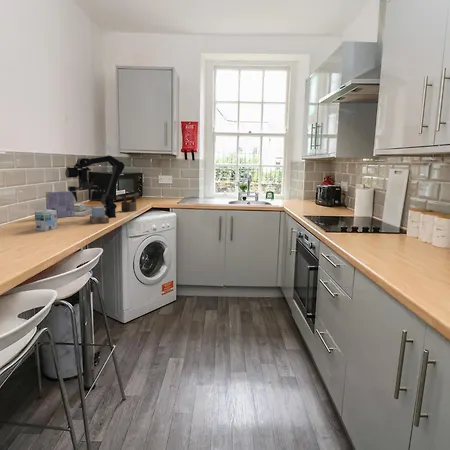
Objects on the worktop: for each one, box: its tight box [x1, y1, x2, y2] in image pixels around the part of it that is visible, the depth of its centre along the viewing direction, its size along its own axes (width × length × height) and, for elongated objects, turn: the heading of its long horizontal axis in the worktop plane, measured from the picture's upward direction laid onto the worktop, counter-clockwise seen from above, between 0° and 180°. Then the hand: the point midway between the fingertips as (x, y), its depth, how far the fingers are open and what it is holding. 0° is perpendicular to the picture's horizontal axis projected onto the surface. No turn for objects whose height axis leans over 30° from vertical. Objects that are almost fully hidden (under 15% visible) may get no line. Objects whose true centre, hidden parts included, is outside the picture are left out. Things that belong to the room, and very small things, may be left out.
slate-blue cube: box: [91, 206, 105, 218], centre depth 233 cm, size 6×6×6 cm
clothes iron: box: [120, 192, 140, 213], centre depth 286 cm, size 8×16×13 cm, turn 154°
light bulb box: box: [34, 208, 58, 232], centre depth 208 cm, size 11×7×11 cm, turn 168°
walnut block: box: [89, 214, 110, 225], centre depth 234 cm, size 10×10×4 cm
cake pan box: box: [45, 190, 76, 219], centre depth 248 cm, size 19×5×18 cm, turn 145°
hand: (84, 201), depth 240 cm, fingers open, 9 cm apart
